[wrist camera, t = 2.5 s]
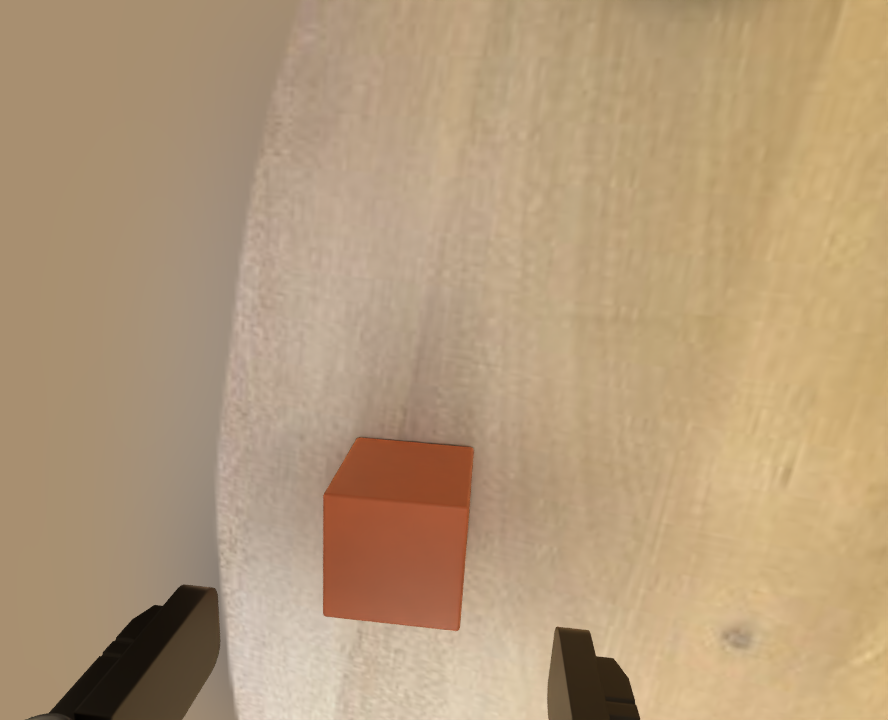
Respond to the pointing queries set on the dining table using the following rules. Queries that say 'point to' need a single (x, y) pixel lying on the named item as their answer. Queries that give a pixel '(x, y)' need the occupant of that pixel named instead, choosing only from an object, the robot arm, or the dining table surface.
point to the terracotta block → (397, 533)
